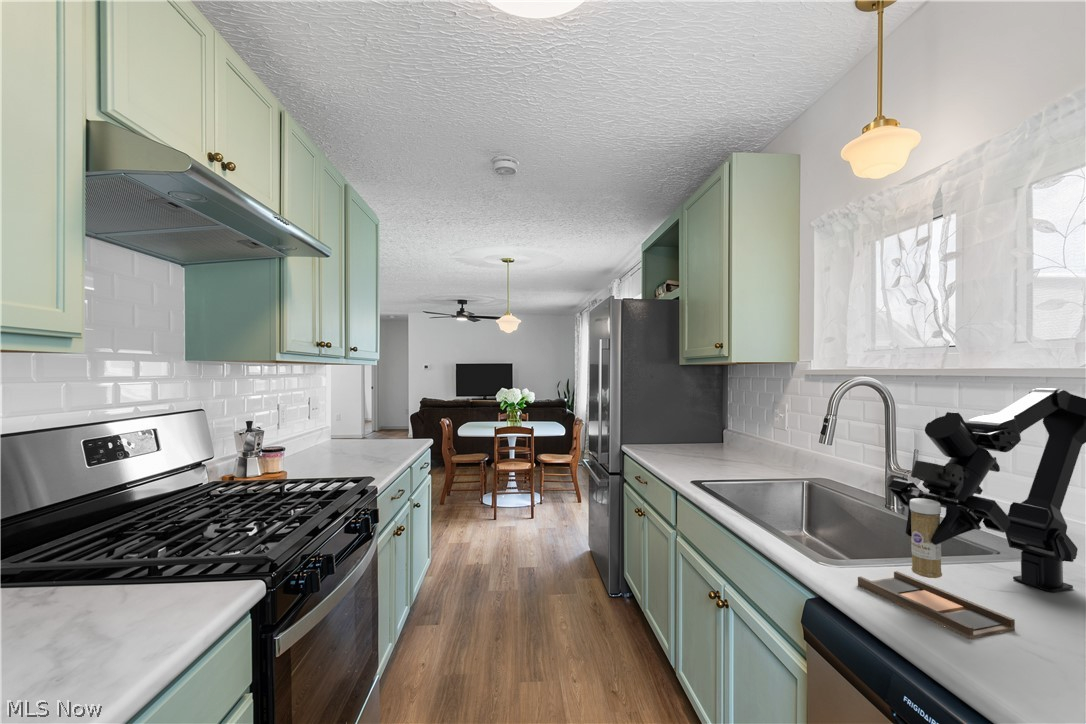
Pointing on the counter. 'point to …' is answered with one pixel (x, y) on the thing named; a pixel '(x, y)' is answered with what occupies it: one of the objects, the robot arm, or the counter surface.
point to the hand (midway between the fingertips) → (920, 538)
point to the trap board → (939, 606)
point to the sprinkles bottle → (925, 537)
